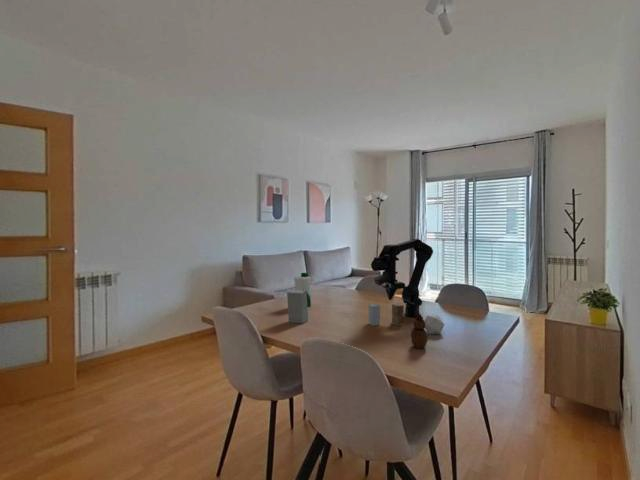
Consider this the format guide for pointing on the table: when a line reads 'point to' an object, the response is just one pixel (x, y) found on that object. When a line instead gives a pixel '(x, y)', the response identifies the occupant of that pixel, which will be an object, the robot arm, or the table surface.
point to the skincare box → (297, 306)
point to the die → (433, 324)
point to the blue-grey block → (374, 314)
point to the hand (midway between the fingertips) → (390, 299)
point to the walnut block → (398, 314)
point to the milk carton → (303, 285)
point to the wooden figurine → (419, 332)
